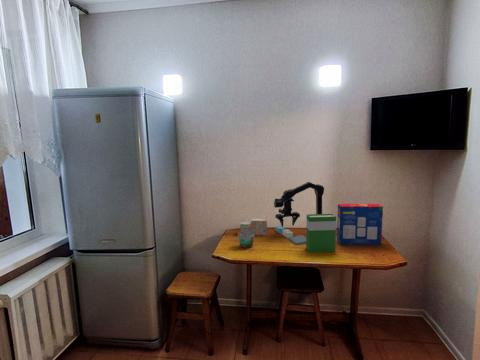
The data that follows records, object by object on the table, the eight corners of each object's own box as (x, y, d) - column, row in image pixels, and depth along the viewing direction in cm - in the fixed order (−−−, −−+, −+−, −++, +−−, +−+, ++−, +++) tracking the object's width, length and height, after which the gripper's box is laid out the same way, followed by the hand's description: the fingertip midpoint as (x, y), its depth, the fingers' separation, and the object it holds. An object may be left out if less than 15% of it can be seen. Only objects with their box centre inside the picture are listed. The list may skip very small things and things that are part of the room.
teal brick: (280, 230, 227) (280, 225, 227) (285, 233, 220) (285, 228, 219) (275, 230, 226) (275, 226, 225) (279, 233, 218) (279, 229, 218)
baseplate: (302, 237, 209) (302, 235, 208) (310, 242, 197) (310, 240, 197) (288, 239, 205) (288, 237, 205) (296, 244, 194) (296, 242, 194)
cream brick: (287, 234, 217) (287, 229, 217) (292, 237, 210) (293, 232, 209) (282, 235, 216) (282, 230, 215) (287, 238, 208) (287, 233, 208)
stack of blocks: (240, 235, 217) (239, 220, 215) (240, 232, 223) (240, 218, 221) (267, 235, 215) (266, 220, 213) (266, 232, 221) (266, 218, 219)
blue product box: (376, 241, 197) (378, 204, 193) (380, 245, 189) (382, 206, 185) (336, 240, 200) (337, 203, 196) (339, 244, 192) (340, 206, 188)
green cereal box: (331, 247, 188) (332, 213, 185) (335, 251, 181) (336, 216, 177) (306, 247, 188) (306, 214, 185) (308, 252, 181) (309, 217, 178)
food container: (235, 248, 191) (234, 234, 189) (238, 244, 196) (238, 231, 195) (251, 250, 186) (251, 236, 185) (254, 246, 192) (254, 233, 191)
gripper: (293, 203, 220) (293, 222, 222) (272, 205, 214) (272, 224, 216) (300, 206, 209) (300, 225, 211) (278, 209, 204) (278, 228, 206)
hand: (287, 226), depth 211 cm, fingers open, 9 cm apart
